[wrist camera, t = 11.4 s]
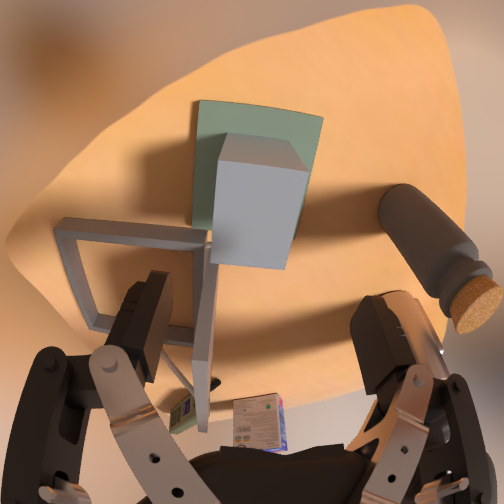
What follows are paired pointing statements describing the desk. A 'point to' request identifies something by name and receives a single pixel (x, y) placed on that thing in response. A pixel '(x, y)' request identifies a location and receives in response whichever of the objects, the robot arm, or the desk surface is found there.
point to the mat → (252, 123)
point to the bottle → (440, 257)
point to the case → (181, 336)
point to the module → (256, 201)
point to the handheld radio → (187, 412)
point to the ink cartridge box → (259, 423)
